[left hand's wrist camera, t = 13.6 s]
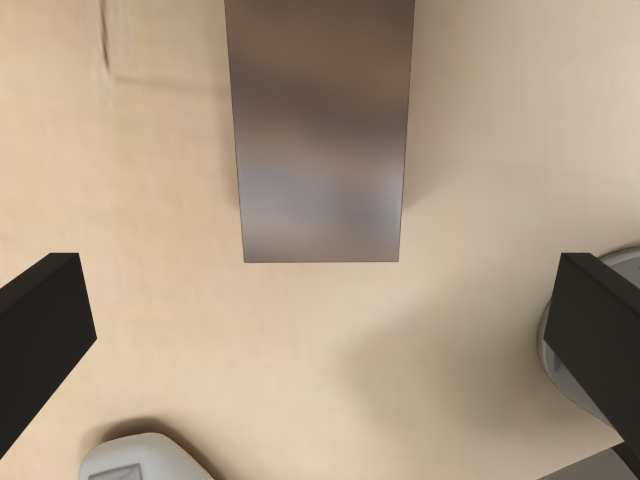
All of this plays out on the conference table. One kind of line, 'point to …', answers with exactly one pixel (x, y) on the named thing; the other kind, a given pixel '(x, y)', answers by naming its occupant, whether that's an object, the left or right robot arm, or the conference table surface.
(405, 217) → the conference table surface
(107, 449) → the projector
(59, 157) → the conference table surface
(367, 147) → the thick board
